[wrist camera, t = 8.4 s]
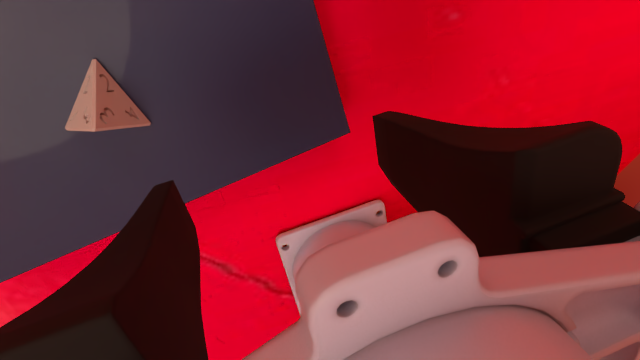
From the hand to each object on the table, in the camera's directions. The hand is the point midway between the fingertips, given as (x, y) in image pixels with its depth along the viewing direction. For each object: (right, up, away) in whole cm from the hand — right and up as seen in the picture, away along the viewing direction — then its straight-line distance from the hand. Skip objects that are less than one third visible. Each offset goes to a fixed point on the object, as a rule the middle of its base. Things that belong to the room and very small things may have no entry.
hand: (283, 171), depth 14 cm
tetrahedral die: (-8, +3, +4) cm, 9 cm away
